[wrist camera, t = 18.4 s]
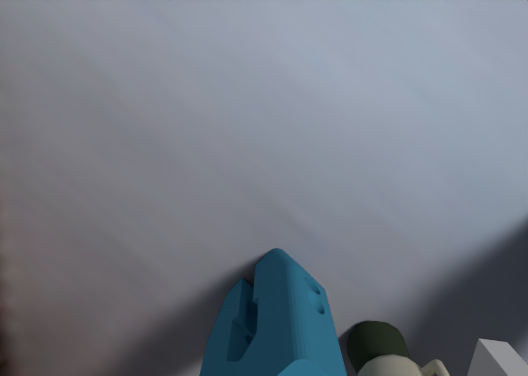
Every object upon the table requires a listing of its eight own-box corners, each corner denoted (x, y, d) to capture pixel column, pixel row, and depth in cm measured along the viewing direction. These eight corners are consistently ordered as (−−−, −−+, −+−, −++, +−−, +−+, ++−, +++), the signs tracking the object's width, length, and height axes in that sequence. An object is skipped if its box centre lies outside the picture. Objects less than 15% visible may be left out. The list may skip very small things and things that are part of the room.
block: (244, 335, 48) (229, 510, 29) (211, 307, 48) (172, 468, 28) (321, 264, 46) (360, 402, 27) (288, 233, 45) (302, 352, 26)
